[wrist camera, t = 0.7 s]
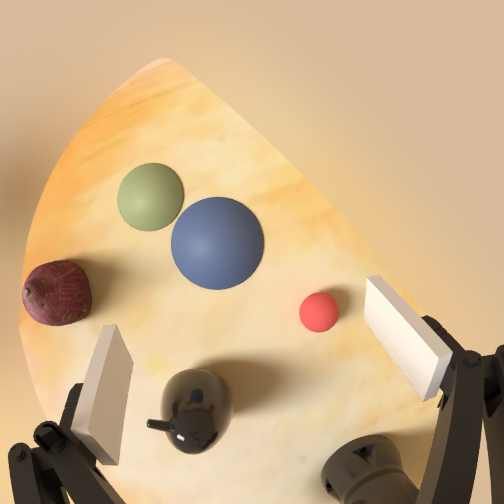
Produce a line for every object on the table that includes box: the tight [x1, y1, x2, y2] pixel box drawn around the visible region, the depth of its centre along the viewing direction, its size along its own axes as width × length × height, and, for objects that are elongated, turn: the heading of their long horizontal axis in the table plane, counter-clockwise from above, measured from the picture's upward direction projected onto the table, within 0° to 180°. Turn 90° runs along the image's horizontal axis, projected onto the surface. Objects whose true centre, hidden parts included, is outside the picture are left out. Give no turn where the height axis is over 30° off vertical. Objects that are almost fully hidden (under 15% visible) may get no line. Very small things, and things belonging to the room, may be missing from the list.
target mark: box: [171, 197, 263, 290], centre depth 45 cm, size 13×13×1 cm
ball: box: [299, 293, 339, 332], centre depth 43 cm, size 6×6×6 cm
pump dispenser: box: [147, 369, 234, 455], centre depth 37 cm, size 10×10×15 cm
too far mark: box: [117, 163, 183, 231], centre depth 44 cm, size 10×10×1 cm
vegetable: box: [22, 260, 92, 326], centre depth 37 cm, size 10×10×15 cm
